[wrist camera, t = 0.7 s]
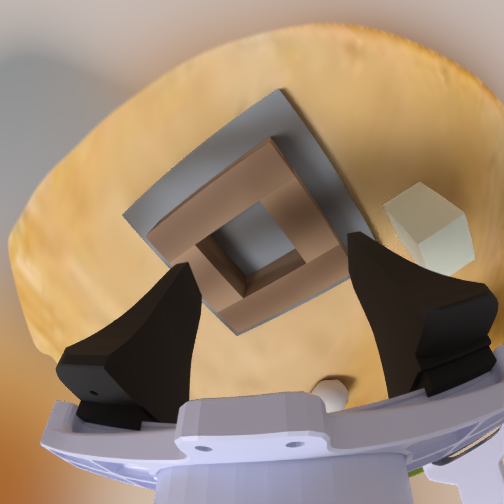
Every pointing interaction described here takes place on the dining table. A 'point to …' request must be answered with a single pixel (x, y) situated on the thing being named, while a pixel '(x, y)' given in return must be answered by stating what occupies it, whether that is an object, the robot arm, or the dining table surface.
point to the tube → (332, 394)
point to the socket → (253, 216)
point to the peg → (431, 229)
